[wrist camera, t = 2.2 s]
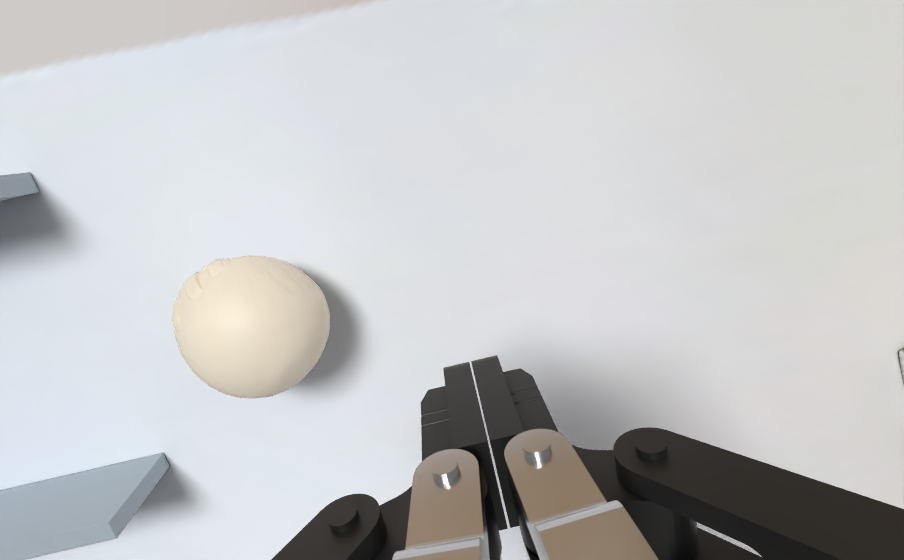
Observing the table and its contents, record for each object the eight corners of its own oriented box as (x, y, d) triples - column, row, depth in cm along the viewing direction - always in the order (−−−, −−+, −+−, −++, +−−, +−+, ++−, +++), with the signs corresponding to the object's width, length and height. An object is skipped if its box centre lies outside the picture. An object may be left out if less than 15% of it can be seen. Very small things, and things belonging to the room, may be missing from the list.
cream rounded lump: (239, 214, 26) (181, 242, 19) (360, 285, 27) (343, 332, 21) (183, 315, 27) (111, 373, 21) (301, 377, 29) (268, 448, 22)
